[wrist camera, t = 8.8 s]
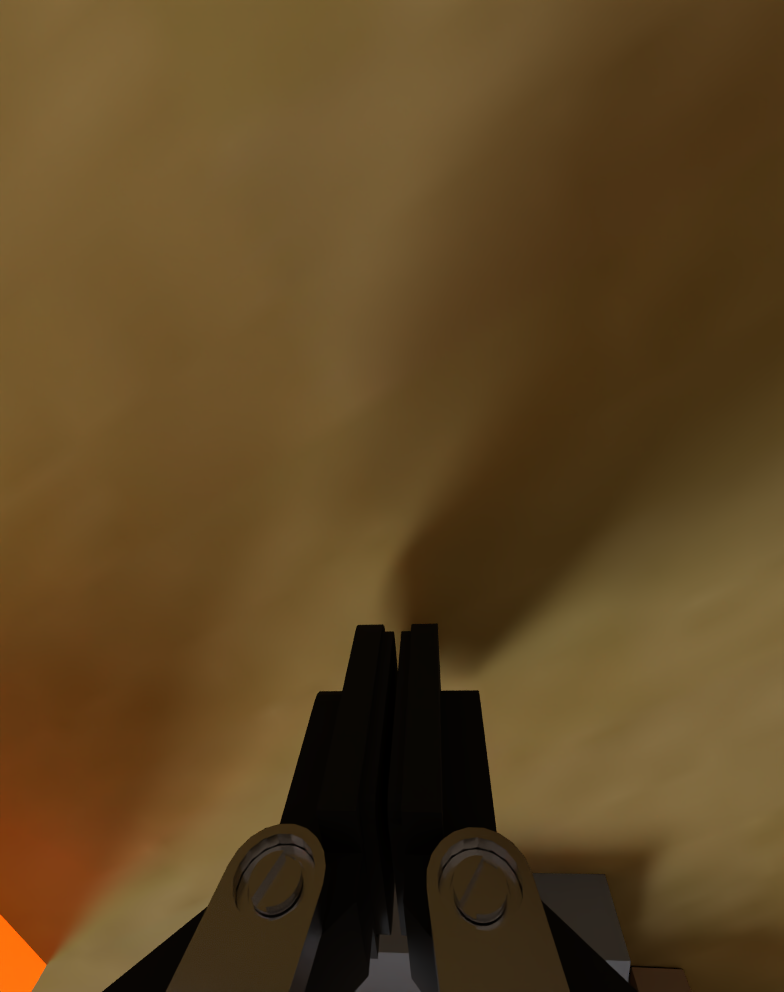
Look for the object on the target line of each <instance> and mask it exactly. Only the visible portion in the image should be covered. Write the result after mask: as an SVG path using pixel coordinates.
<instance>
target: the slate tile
mask: <svg viewBox="0 0 784 992" xmlns="http://www.w3.org/2000/svg"><path fill="white" fill-rule="evenodd" d="M532 874H533V877H534V880H535V883H536V886H537V889H538V892H539V896H540V899H541V900H542V901H543V902H544V903H545V904H546V905H547V906H548V907H549V908H550V909H551V910H552V911H553V912H554V913H556V914H557V915H558V916H559V917H560V918H561V919H562V920H563V921H564V922H565V923H566V924H567V925H568V926H569V927H570V928H571V929H572V930H573V931H575V932H576V933H577V934H578V935H579V936H580V937H581V938H582V939H583V940H584V941H585V942H586V943H587V944H588V945H589V946H590V947H591V948H592V949H593V950H595V951H596V952H597V953H598V954H599V955H600V956H601V957H602V958H603V959H604V960H605V961H606V962H607V963H608V964H609V965H610V966H611V967H612V968H613V969H615V970H616V971H617V972H618V973H619V974H620V975H621V976H622V977H623V978H624V979H625V980H626V981H627V982H628V978H629V970H630V962H631V961H630V957H629V954H628V951H627V947H626V944H625V941H624V937H623V934H622V931H621V927H620V924H619V920H618V917H617V914H616V910H615V907H614V904H613V900H612V897H611V894H610V890H609V887H608V883H607V880H606V877H605V874H547V873H532ZM355 992H421V991H420V990H419V988H418V987H417V985H416V984H415V983H414V981H413V980H412V978H411V971H410V962H409V952H408V943H407V936H403V935H401V930H400V921H399V913H398V904H397V895H396V887H395V890H394V907H393V923H392V933H391V935H380V939H379V951H378V959H370V966H369V976H368V977H367V978H366V980H365V981H364V982H363V983H362V984H361V985H360V986H359V987H358V989H357V990H356V991H355Z"/></svg>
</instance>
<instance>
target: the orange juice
mask: <svg viewBox="0 0 784 992" xmlns="http://www.w3.org/2000/svg"><path fill="white" fill-rule="evenodd" d="M45 967H46V964H45V963H44V962H43V961H42V959H41V958H40V957H39V956H38V955H37V954H36V953H35V952H34V951H33V950H32V949H31V947H30V946H29V945H28V944H27V943H26V942H25V941H24V940H23V939H22V938H21V937H20V935H19V934H18V933H17V932H16V931H15V930H14V929H13V928H12V927H11V926H10V925H9V924H8V922H7V921H6V920H5V919H4V918H3V917H2V916H1V915H0V992H31V991H32V989H33V988H34V986H35V984H36V982H37V981H38V979H39V977H40V975H41V974H42V972H43V970H44V969H45Z"/></svg>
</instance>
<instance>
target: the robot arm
mask: <svg viewBox="0 0 784 992" xmlns="http://www.w3.org/2000/svg"><path fill="white" fill-rule="evenodd" d="M395 887H396V895H397V904H398V913H399V921H400V930H401V935H403V936H407V943H408V952H409V962H410V971H411V978H412V980H413V981H414V983H415V984H416V985H417V987H418V988H419V990H420V991H421V992H638V991H637V990H636V989H635V988H633V987H632V986H631V985H630V984H629V983H628V982H627V981H626V980H625V979H624V978H623V977H622V976H621V975H620V974H619V973H618V972H617V971H616V970H615V969H613V968H612V967H611V966H610V965H609V964H608V963H607V962H606V961H605V960H604V959H603V958H602V957H601V956H600V955H599V954H598V953H597V952H596V951H595V950H593V949H592V948H591V947H590V946H589V945H588V944H587V943H586V942H585V941H584V940H583V939H582V938H581V937H580V936H579V935H578V934H577V933H576V932H575V931H573V930H572V929H571V928H570V927H569V926H568V925H567V924H566V923H565V922H564V921H563V920H562V919H561V918H560V917H559V916H558V915H557V914H556V913H554V912H553V911H552V910H551V909H550V908H549V907H548V906H547V905H546V904H545V903H544V902H543V901H542V900H541V899H540V896H539V892H538V889H537V886H536V883H535V880H534V877H533V874H532V871H531V869H530V867H529V865H528V863H527V861H526V859H525V857H524V855H523V854H522V853H521V852H520V851H519V849H518V848H517V847H516V846H515V845H514V843H513V842H511V841H510V840H508V839H507V838H505V837H504V836H502V835H501V834H500V833H497V831H496V823H495V815H494V807H493V799H492V791H491V783H490V775H489V767H488V759H487V751H486V743H485V735H484V727H483V719H482V711H481V703H480V696H479V691H478V690H475V691H441V682H440V662H439V642H438V624H412V625H411V631H402V632H401V641H400V653H399V665H398V668H397V657H396V646H395V636H394V632H385V628H384V625H358V626H357V628H356V631H355V636H354V641H353V645H352V650H351V654H350V659H349V663H348V668H347V672H346V677H345V681H344V686H343V690H342V691H320V692H319V693H318V694H317V696H316V699H315V702H314V705H313V709H312V712H311V716H310V720H309V723H308V727H307V730H306V734H305V737H304V741H303V744H302V748H301V751H300V755H299V758H298V762H297V765H296V769H295V773H294V776H293V780H292V783H291V787H290V790H289V794H288V797H287V801H286V804H285V808H284V811H283V815H282V818H281V822H280V824H278V825H274V826H271V827H267V828H265V829H263V830H261V831H260V832H258V833H256V834H255V835H253V836H251V837H250V838H249V839H248V840H247V841H246V842H245V843H244V844H243V845H242V846H241V847H240V848H239V849H238V850H237V852H236V853H235V855H234V856H233V858H232V859H231V861H230V863H229V864H228V866H227V868H226V870H225V872H224V874H223V876H222V878H221V880H220V882H219V884H218V886H217V888H216V890H215V892H214V894H213V896H212V898H211V901H210V903H209V905H208V907H206V908H205V909H204V910H203V911H201V912H200V913H199V914H198V915H196V916H195V917H194V918H193V919H191V920H190V921H189V922H188V923H187V924H185V925H184V926H183V927H182V928H180V929H179V930H178V931H177V932H175V933H174V934H173V935H172V936H170V937H169V938H168V939H167V940H166V941H164V942H163V943H162V944H161V945H159V946H158V947H157V948H156V949H154V950H153V951H152V952H151V953H149V954H148V955H147V956H146V957H144V958H143V959H142V960H141V961H140V962H138V963H137V964H136V965H135V966H133V967H132V968H131V969H130V970H128V971H127V972H126V973H125V974H123V975H122V976H121V977H120V978H119V979H117V980H116V981H115V982H114V983H112V984H111V985H110V986H109V987H107V988H106V989H105V990H104V991H102V992H355V991H356V990H357V989H358V987H359V986H360V985H361V984H362V983H363V982H364V981H365V980H366V978H367V977H368V976H369V966H370V959H378V951H379V939H380V935H391V933H392V923H393V907H394V890H395Z"/></svg>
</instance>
